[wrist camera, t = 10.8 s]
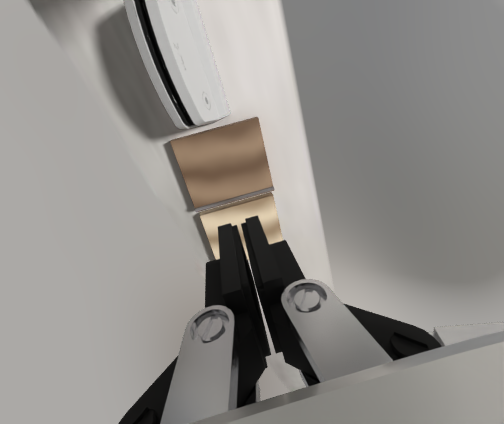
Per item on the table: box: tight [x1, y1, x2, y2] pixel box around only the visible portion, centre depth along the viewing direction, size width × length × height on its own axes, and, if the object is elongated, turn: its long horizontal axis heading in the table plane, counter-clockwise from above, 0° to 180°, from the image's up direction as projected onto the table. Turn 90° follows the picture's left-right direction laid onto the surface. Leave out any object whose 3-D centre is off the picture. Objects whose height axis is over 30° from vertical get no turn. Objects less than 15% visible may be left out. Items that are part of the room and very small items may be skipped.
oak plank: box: [200, 192, 283, 260], centre depth 46 cm, size 11×12×2 cm
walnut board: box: [170, 117, 274, 212], centre depth 41 cm, size 12×13×2 cm
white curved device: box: [124, 0, 231, 129], centre depth 32 cm, size 17×5×10 cm, turn 16°
